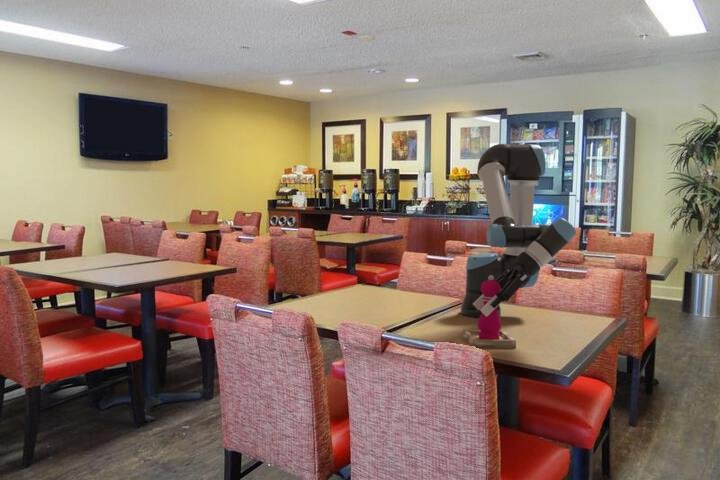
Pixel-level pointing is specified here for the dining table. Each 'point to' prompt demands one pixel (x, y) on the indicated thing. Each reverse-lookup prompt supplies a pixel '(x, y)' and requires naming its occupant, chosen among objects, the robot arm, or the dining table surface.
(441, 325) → the dining table surface
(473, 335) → the tray
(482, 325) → the pepper mill
